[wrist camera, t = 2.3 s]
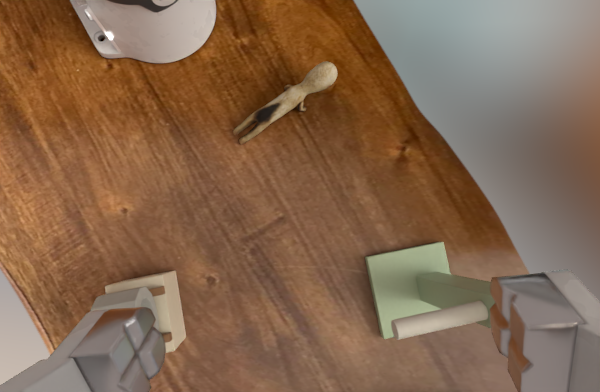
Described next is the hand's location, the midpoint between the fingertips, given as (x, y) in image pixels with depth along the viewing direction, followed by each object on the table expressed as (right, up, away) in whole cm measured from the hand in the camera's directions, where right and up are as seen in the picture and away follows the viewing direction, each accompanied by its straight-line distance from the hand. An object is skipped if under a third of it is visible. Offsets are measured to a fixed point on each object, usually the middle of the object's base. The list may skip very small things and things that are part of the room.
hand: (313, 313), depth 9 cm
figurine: (-2, +14, +42) cm, 44 cm away
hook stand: (+12, -9, +40) cm, 43 cm away
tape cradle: (-18, -11, +37) cm, 43 cm away
